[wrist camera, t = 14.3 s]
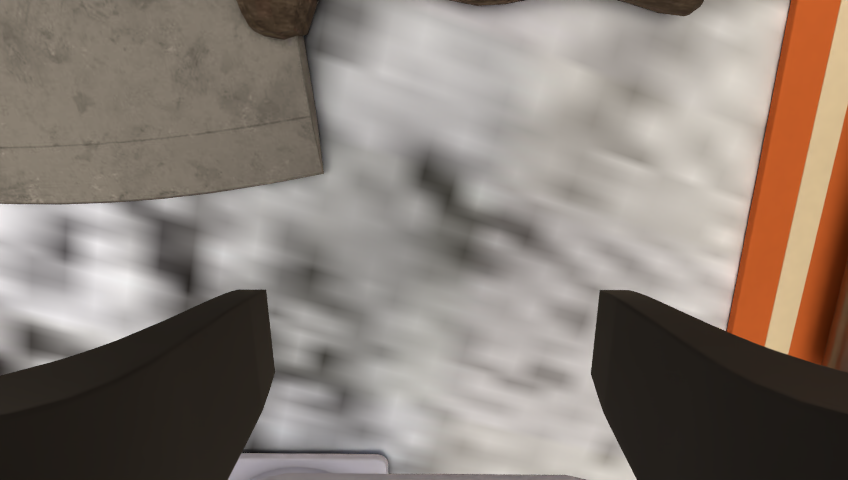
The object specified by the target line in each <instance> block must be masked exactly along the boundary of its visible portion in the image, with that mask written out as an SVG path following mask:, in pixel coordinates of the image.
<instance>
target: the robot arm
mask: <svg viewBox="0 0 848 480" xmlns="http://www.w3.org/2000/svg"><path fill="white" fill-rule="evenodd" d="M274 374H275V368H274V358H273V349H272V340H271V331H270V322H269V312H268V303H267V294H266V290H235V291H231V292H228V293H225V294H223V295H220V296H218V297H215V298H213V299H211V300H209V301H206V302H204V303H202V304H200V305H198V306H195V307H193V308H191V309H189V310H187V311H184V312H182V313H180V314H178V315H176V316H174V317H171V318H169V319H167V320H165V321H162V322H160V323H158V324H155V325H153V326H150V327H148V328H146V329H143V330H141V331H139V332H136V333H134V334H131V335H129V336H127V337H124V338H122V339H119V340H117V341H114V342H111V343H109V344H106V345H103V346H100V347H98V348H95V349H92V350H89V351H86V352H83V353H80V354H77V355H74V356H71V357H68V358H64V359H61V360H58V361H54V362H51V363H47V364H43V365H39V366H35V367H32V368H28V369H24V370H20V371H16V372H13V373H9V374H5V375H1V376H0V480H586V479H581V478H577V477H573V476H568V475H494V474H388V461H387V459H386V458H385V457H384V456H382V455H379V454H280V453H242V451H243V449H244V447H245V445H246V443H247V441H248V439H249V437H250V435H251V433H252V431H253V429H254V427H255V425H256V423H257V421H258V419H259V417H260V415H261V413H262V411H263V408H264V405H265V402H266V399H267V396H268V393H269V390H270V387H271V384H272V380H273V377H274ZM591 375H592V379H593V382H594V385H595V388H596V392H597V395H598V398H599V401H600V404H601V407H602V409H603V412H604V414H605V417H606V419H607V421H608V423H609V425H610V427H611V429H612V431H613V433H614V435H615V437H616V439H617V441H618V443H619V445H620V447H621V449H622V451H623V453H624V455H625V457H626V459H627V461H628V463H629V465H630V467H631V469H632V471H633V473H634V475H635V477H636V479H637V480H848V372H844V371H840V370H836V369H833V368H829V367H826V366H822V365H819V364H815V363H812V362H809V361H806V360H803V359H800V358H797V357H794V356H791V355H788V354H784V353H781V352H778V351H775V350H773V349H770V348H767V347H764V346H761V345H759V344H756V343H754V342H751V341H749V340H746V339H744V338H741V337H739V336H736V335H734V334H731V333H729V332H726V331H724V330H722V329H719V328H717V327H715V326H712V325H710V324H708V323H705V322H703V321H701V320H699V319H697V318H694V317H692V316H690V315H688V314H686V313H683V312H681V311H679V310H677V309H675V308H673V307H670V306H668V305H666V304H664V303H662V302H659V301H657V300H655V299H653V298H650V297H648V296H645V295H643V294H640V293H637V292H634V291H630V290H600V294H599V303H598V312H597V322H596V331H595V340H594V350H593V359H592V368H591ZM375 473H378V474H375Z"/></svg>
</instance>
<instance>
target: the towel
mask: <svg viewBox="0 0 848 480" xmlns="http://www.w3.org/2000/svg"><path fill="white" fill-rule="evenodd" d="M847 258H848V0H791V4H790V9H789V14H788V19H787V24H786V29H785V35H784V40H783V45H782V50H781V55H780V60H779V65H778V71H777V76H776V81H775V86H774V91H773V96H772V101H771V107H770V112H769V117H768V122H767V127H766V132H765V137H764V143H763V148H762V153H761V158H760V163H759V168H758V173H757V179H756V184H755V189H754V194H753V199H752V204H751V209H750V215H749V220H748V225H747V230H746V235H745V240H744V246H743V251H742V256H741V261H740V266H739V271H738V276H737V282H736V287H735V292H734V297H733V302H732V307H731V312H730V318H729V323H728V328H727V332H729V333H731V334H734V335H736V336H739V337H741V338H744V339H746V340H749V341H751V342H754V343H756V344H759V345H761V346H764V347H767V348H770V349H773V350H775V351H778V352H781V353H784V354H788V355H791V356H794V357H797V358H800V359H803V360H806V361H809V362H812V363H815V364H819V365H821V363H822V359H823V355H824V351H825V347H826V343H827V339H828V335H829V331H830V327H831V323H832V319H833V315H834V311H835V306H836V302H837V298H838V294H839V290H840V286H841V282H842V278H843V274H844V270H845V266H846V262H847Z"/></svg>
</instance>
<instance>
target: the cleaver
mask: <svg viewBox="0 0 848 480" xmlns="http://www.w3.org/2000/svg"><path fill="white" fill-rule="evenodd" d="M450 1H456V2H461V3H466V4H471V5H476V6H481V5H499V4H508V3H513V2H518V1H523V0H450ZM619 1H623V2H627V3H630V4H633V5H636V6H639V7H642V8H645V9H648V10H651V11H654V12H657V13H663V14H671V15H679V16H686V15H689V14H691V13H692V12H693V11H695V10H696V9H697V8H699V7H700V6H701V5H702V3H703V1H704V0H619ZM317 3H318V0H0V204H84V203H112V202H126V201H139V200H152V199H165V198H173V197H182V196H190V195H199V194H207V193H215V192H222V191H228V190H234V189H240V188H246V187H253V186H259V185H265V184H271V183H276V182H281V181H287V180H292V179H297V178H303V177H308V176H313V175H319V174H324V171H323V163H322V155H321V147H320V139H319V131H318V124H317V116H316V109H315V103H314V97H313V91H312V85H311V79H310V74H309V68H308V62H307V56H306V50H305V44H304V38H303V36H304V35H307V34H308V31H309V28H310V25H311V22H312V19H313V16H314V13H315V10H316V6H317Z"/></svg>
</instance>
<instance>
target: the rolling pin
mask: <svg viewBox="0 0 848 480" xmlns="http://www.w3.org/2000/svg"><path fill="white" fill-rule="evenodd" d="M821 365H822V366H826V367H829V368H833V369H836V370H840V371H844V372H848V258H847V262H846V266H845V270H844V274H843V278H842V282H841V286H840V290H839V294H838V298H837V302H836V306H835V311H834V315H833V319H832V323H831V327H830V331H829V335H828V339H827V343H826V347H825V351H824V355H823V359H822V363H821Z"/></svg>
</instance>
